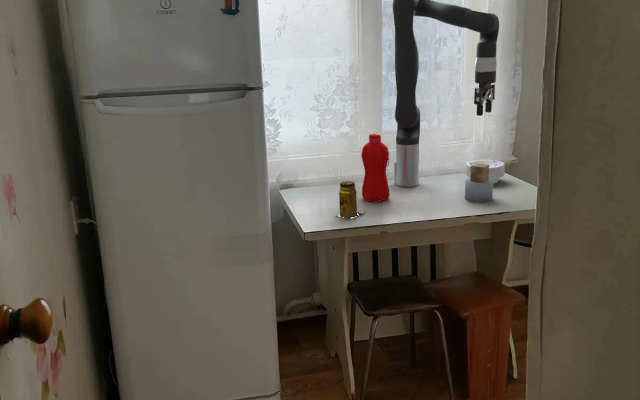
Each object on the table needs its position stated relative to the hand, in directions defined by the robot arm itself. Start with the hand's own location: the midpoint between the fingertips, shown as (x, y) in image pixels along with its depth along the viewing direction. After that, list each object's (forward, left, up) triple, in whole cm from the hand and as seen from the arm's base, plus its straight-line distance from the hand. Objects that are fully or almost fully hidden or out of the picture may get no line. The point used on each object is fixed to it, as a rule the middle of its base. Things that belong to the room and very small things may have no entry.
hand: (484, 113), depth 226 cm
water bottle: (-30, -28, -30) cm, 51 cm away
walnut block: (+3, -10, -23) cm, 26 cm away
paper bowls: (-4, +14, -30) cm, 34 cm away
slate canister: (+3, -10, -30) cm, 32 cm away
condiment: (-28, -50, -30) cm, 65 cm away
